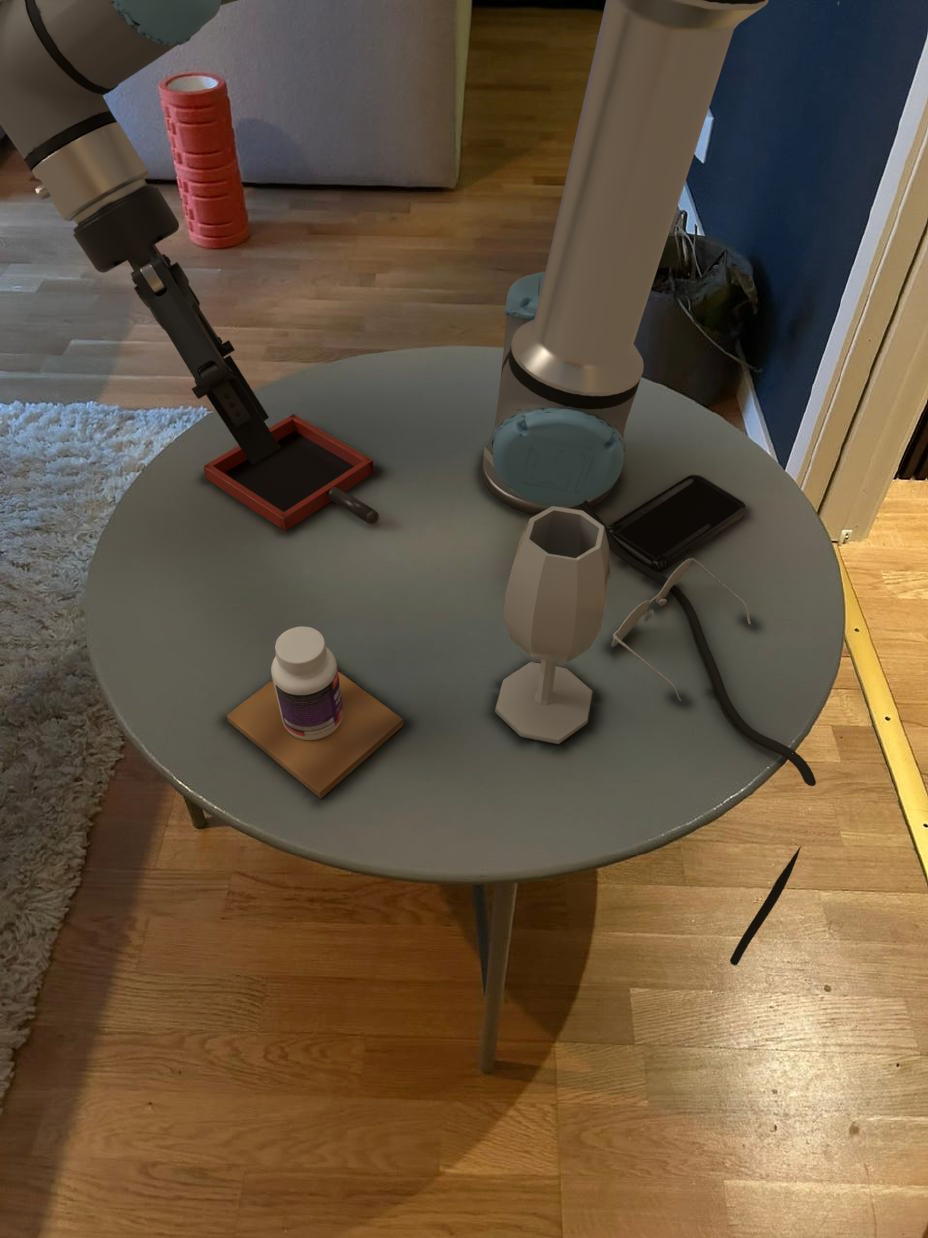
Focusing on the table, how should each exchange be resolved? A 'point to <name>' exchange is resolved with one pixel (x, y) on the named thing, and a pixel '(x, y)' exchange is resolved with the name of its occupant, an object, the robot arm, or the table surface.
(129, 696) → the table surface
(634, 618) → the sunglasses
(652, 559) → the phone
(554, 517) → the wineglass
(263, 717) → the wooden board
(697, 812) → the table surface
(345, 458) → the pan
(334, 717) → the pill bottle
